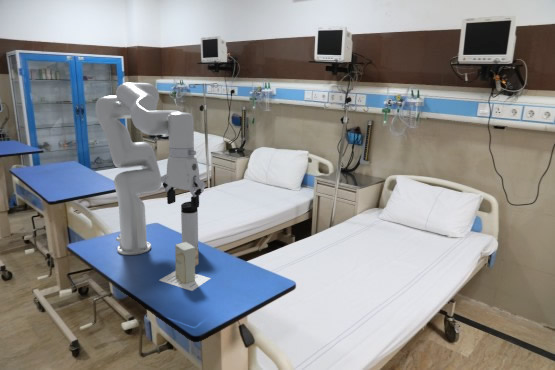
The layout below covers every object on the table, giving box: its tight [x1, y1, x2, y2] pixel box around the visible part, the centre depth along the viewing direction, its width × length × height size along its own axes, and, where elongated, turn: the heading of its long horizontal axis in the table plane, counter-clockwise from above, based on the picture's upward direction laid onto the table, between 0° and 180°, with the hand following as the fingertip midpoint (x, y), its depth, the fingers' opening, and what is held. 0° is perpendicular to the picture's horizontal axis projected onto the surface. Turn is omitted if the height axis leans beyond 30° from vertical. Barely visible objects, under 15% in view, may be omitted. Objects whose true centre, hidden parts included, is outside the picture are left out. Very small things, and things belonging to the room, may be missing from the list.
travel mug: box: [180, 200, 199, 251], centre depth 154 cm, size 6×7×20 cm
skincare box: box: [174, 242, 196, 284], centre depth 132 cm, size 6×4×12 cm
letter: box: [158, 270, 212, 292], centre depth 133 cm, size 14×10×1 cm
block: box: [195, 249, 199, 267], centre depth 143 cm, size 5×5×6 cm
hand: (183, 205), depth 127 cm, fingers open, 9 cm apart
